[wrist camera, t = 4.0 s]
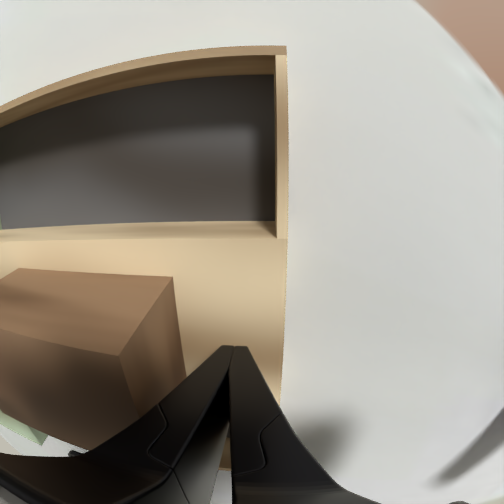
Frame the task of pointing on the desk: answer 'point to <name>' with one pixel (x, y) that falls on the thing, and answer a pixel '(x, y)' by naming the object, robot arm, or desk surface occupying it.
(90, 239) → the trap board
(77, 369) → the walnut brick
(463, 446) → the desk surface
